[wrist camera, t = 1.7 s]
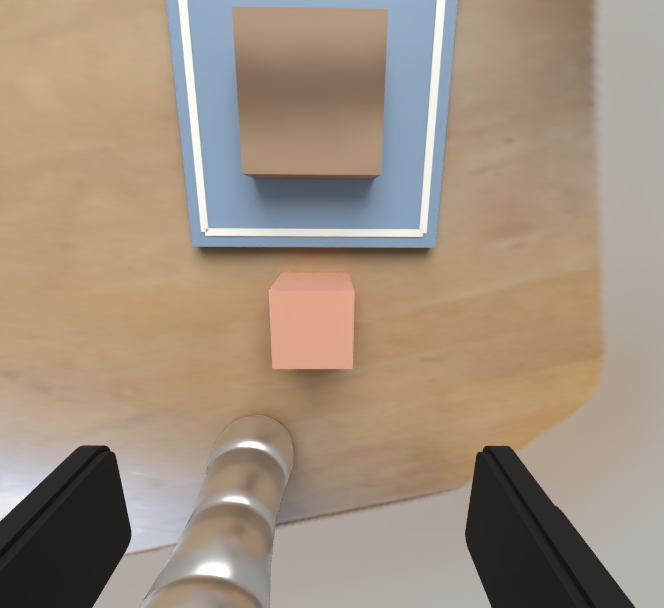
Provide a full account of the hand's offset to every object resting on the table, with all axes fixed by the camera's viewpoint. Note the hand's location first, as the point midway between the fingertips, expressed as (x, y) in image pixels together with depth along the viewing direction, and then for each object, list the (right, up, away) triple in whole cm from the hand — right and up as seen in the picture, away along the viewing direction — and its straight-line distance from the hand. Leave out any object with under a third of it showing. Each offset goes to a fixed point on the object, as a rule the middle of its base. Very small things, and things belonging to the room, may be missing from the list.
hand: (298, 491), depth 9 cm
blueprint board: (0, +17, +14) cm, 22 cm away
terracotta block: (0, +5, +17) cm, 18 cm away
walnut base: (0, +17, +13) cm, 21 cm away
